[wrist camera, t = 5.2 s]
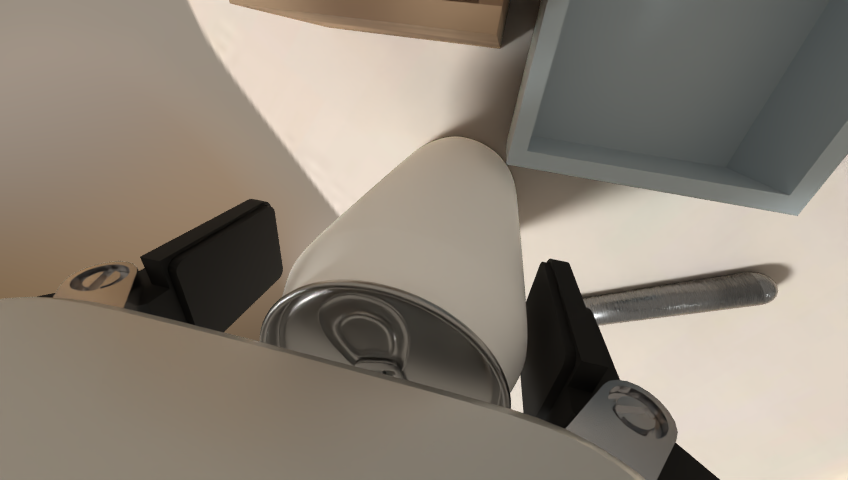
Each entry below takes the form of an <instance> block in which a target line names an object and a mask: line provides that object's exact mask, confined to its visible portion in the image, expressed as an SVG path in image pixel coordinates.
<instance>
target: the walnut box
mask: <svg viewBox="0 0 848 480" xmlns="http://www.w3.org/2000/svg"><path fill="white" fill-rule="evenodd" d="M229 1H230V3H231V4H235V5H239V6H243V7H247V8H251V9H255V10H259V11H263V12H268V13H272V14H276V15H280V16H284V17H288V18H292V19H296V20H300V21H304V22H308V23H312V24H317V25H321V26H325V27H329V28H337V29H345V30H353V31H362V32H370V33H378V34H386V35H394V36H402V37H410V38H418V39H426V40H434V41H442V42H450V43H458V44H467V45H475V46H483V47H491V48H499V49H500V47H501V42H502V37H503V32H504V27H505V23H506V18H507V13H508V8H509V3H510V0H229Z"/></svg>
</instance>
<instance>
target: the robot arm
mask: <svg viewBox="0 0 848 480" xmlns="http://www.w3.org/2000/svg"><path fill="white" fill-rule="evenodd" d="M140 258H141V260H142V262H143V265H144V267H145V268H144V269H143V270H141V271H138V269H137V267H136V266H135V265H134V264H133V263H129V262H123V261H115V262H106V263H101V264H97V265H94V266H90V267H87V268H85V269H82V270H80V271H77V272H75V273H74V274H72V275H71V276H69V277H68V278H66V279H65V280H64V282H62V284H61V285H60V287H59V288H58V290H57V291H56V293H53V294H48V295H43V296H38V297H23V298H5V299H0V480H720V479H718V478H717V477H716V476H715V475H714V474H712V473H711V472H710V471H709V470H708V469H706V468H705V467H704V466H703V465H702V464H700V463H699V462H698V461H697V460H696V459H694V458H693V457H692V456H691V455H690V454H689V453H687V452H686V451H685V450H684V449H683V448H681V447H680V446H679V445H678V444H677V443H675V442H676V439H677V433H678V431H677V428H676V424H675V421H674V419H673V418H672V416H671V414H670V413H669V411H668V410H667V409H666V408H665V407H664V405H663V404H662V403H661V402H660V401H659V400H658V399H657V398H655V397H654V396H653V395H652V394H651V393H649V392H648V391H646V390H644V389H643V388H641V387H639V386H638V385H635V384H633V383H630V382H628V381H622V380H620V379H619V377H618V374H617V372H616V369H615V367H614V364H613V362H612V359H611V357H610V354H609V352H608V349H607V347H606V344H605V342H604V339H603V337H602V334H601V332H600V329H599V327H598V324H597V322H596V319H595V317H594V314H593V312H592V311H591V310H590V309H589V308H586V306H585V304H584V301H583V298H582V296H581V293H580V290H579V288H578V285H577V283H576V280H575V277H574V275H573V272H572V270H571V267H570V264H569V263H568V262H564V261H559V260H554V259H549V260H548V261H547V263H546V262H541V264H540V266H539V269H538V271H537V274H536V277H535V279H534V282H533V285H532V287H531V290H530V293H529V296H528V298H527V301H526V313H527V352H526V359H525V363H524V366H523V369H522V371H521V374H520V375H521V387H522V399H523V411H524V413H521V412H518V411H515V410H512V409H509V408H506V407H502V406H499V405H495V404H491V403H488V402H484V401H481V400H477V399H474V398H470V397H467V396H463V395H460V394H456V393H453V392H449V391H445V390H442V389H438V388H434V387H430V386H427V385H423V384H419V383H415V382H412V381H408V380H404V379H400V378H397V377H393V376H389V375H385V374H381V373H378V372H374V371H370V370H366V369H363V368H359V367H355V366H351V365H347V364H344V363H340V362H336V361H332V360H328V359H324V358H321V357H317V356H313V355H309V354H305V353H301V352H297V351H294V350H290V349H286V348H282V347H278V346H274V345H270V344H266V343H263V342H259V341H255V340H251V339H247V338H243V337H239V336H235V335H231V334H227V333H223V332H224V331H225V330H226V329H227V328H228V327H229V326H231V325H232V324H233V323H234V322H235V321H236V320H237V319H238V318H239V317H240V316H241V315H242V314H243V313H244V312H245V311H246V310H247V309H248V308H249V307H250V306H251V305H252V304H253V303H254V302H255V301H256V300H257V299H258V298H260V297H261V295H263V294H264V293H265V292H266V291H267V290H268V289H269V288H270V287H271V286H272V285H273V284H274V283H275V282H276V281H277V280H278V279H279V278H280V277H281V274H282V271H283V266H282V260H281V253H280V246H279V239H278V232H277V225H276V218H275V211H274V209H273V208H272V207H271V206H270V204H269V203H268V202H264V201H260V200H254V199H249V200H247V201H245V202H243V203H241V204H240V205H237V206H236V207H234V208H232V209H230V210H228V211H226V212H224V213H222V214H220V215H219V216H217V217H215V218H213V219H211V220H209V221H207V222H205V223H203V224H201V225H200V226H198V227H196V228H194V229H192V230H190V231H188V232H186V233H184V234H183V235H181V236H179V237H177V238H175V239H173V240H171V241H169V242H168V243H165V244H164V245H162V246H160V247H158V248H156V249H154V250H152V251H151V252H148V253H147V254H145V255H143V256H141V257H140Z"/></svg>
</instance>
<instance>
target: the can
mask: <svg viewBox="0 0 848 480" xmlns="http://www.w3.org/2000/svg"><path fill="white" fill-rule="evenodd" d="M260 342H263V343H266V344H270V345H274V346H278V347H282V348H286V349H290V350H294V351H297V352H301V353H305V354H309V355H313V356H317V357H321V358H324V359H328V360H332V361H336V362H340V363H344V364H347V365H351V366H355V367H359V368H363V369H366V370H370V371H374V372H378V373H381V374H385V375H389V376H393V377H397V378H400V379H404V380H408V381H412V382H415V383H419V384H423V385H427V386H430V387H434V388H438V389H442V390H445V391H449V392H453V393H456V394H460V395H463V396H467V397H470V398H474V399H477V400H481V401H484V402H488V403H491V404H495V405H499V406H502V407H506V408H509V409H511V398H510V392H511V391H512V389H513V387H514V386H515V384H516V382H517V380H518V378H519V376H520V374H521V371H522V369H523V366H524V363H525V359H526V352H527V313H526V299H525V286H524V273H523V261H522V249H521V237H520V226H519V214H518V204H517V195H516V188H515V183H514V180H513V177H512V174H511V172H510V170H509V168H508V167H507V165H506V164H505V162H504V161H503V160H502V158H501V157H500V156H499V155H498V154H497V153H496V152H494V151H493V150H492V149H490V148H489V147H487V146H486V145H484V144H482V143H480V142H477V141H475V140H472V139H468V138H464V137H446V138H441V139H438V140H435V141H432V142H430V143H428V144H426V145H424V146H422V147H420V148H419V149H417V150H416V151H415V152H413V153H412V154H411V155H410V156H409V157H407V158H406V159H405V160H404V161H403V162H401V163H400V164H399V165H398V166H397V167H396V168H395V169H393V170H392V171H391V172H390V173H389V174H388V175H386V176H385V177H384V178H383V179H382V180H381V181H380V182H378V183H377V184H376V185H375V186H374V187H373V188H372V189H371V190H369V191H368V192H367V193H366V194H365V195H364V196H363V197H361V198H360V199H359V200H358V201H357V202H356V203H355V204H354V205H352V206H351V207H350V208H349V209H348V210H347V211H346V212H345V213H343V214H342V215H341V216H340V217H339V218H338V219H337V220H336V221H335V222H333V223H332V224H331V225H330V226H329V227H328V228H327V229H326V230H325V231H324V232H322V233H321V234H320V235H319V236H318V237H317V238H316V239H315V240H314V241H313V242H312V243H311V244H310V245H309V246H308V247H307V248H306V249H305V250H304V252H303V253H302V254H301V255H300V257H299V258H298V259H297V261H296V262H295V264H294V265H293V268H292V269H291V272H290V274H289V276H288V279H287V282H286V286H285V289H284V293H283V297H282V298H281V299H279V300H278V301H277V302H276V303H275V304H274V305H273V306H272V308H271V309H270V310H269V312H268V313H267V315H266V317H265V319H264V321H263V324H262V327H261V332H260Z"/></svg>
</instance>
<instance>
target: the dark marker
mask: <svg viewBox="0 0 848 480" xmlns="http://www.w3.org/2000/svg"><path fill="white" fill-rule="evenodd" d="M777 293H778V288H777V285H776V283H775V282H774V281H773V280H772V279H771V278H770V277H768V276H766V275H764V274H761V273H757V272H745V273H739V274H732V275H726V276H720V277H713V278H707V279H701V280H695V281H688V282H682V283H676V284H669V285H663V286H657V287H651V288H644V289H638V290H632V291H625V292H619V293H613V294H607V295H600V296H594V297H588V298H583V301H584V304H585V306H586V308H589V309H590V310H591V311H592V312H593V314H594V317H595V319H596V322H597V324H598V325H606V324H614V323H622V322H630V321H638V320H646V319H654V318H661V317H669V316H677V315H685V314H693V313H701V312H709V311H717V310H725V309H733V308H740V307H748V306H756V305H763V304H766V303H769V302H771V301H772V300H774V298H775V297H776V296H777Z"/></svg>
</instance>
